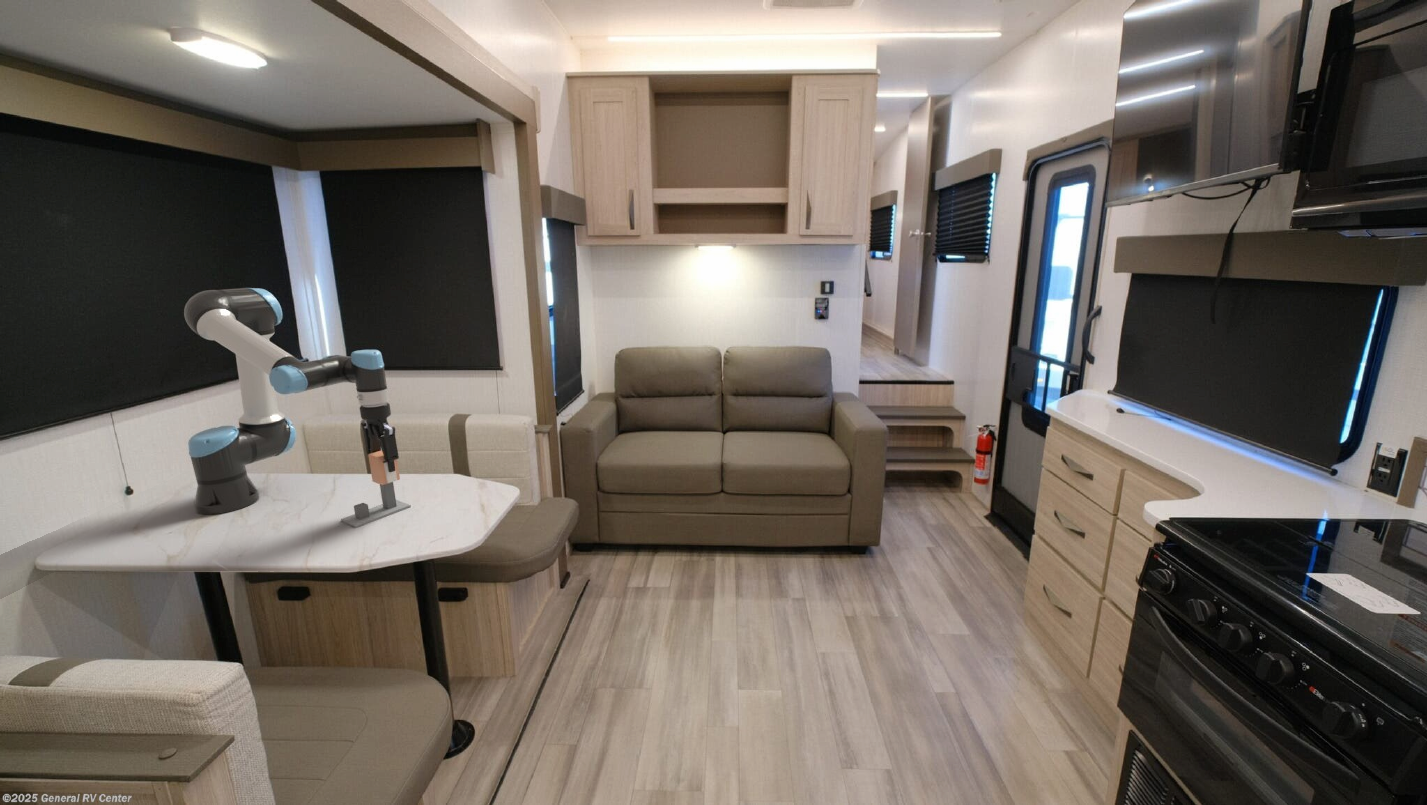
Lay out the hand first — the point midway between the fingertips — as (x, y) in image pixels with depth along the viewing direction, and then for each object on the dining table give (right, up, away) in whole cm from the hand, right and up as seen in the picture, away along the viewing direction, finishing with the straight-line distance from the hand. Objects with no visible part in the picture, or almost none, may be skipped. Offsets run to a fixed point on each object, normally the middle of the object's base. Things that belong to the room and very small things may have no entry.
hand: (386, 479), depth 169 cm
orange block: (0, 0, 0) cm, 0 cm away
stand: (-2, -10, -1) cm, 10 cm away
